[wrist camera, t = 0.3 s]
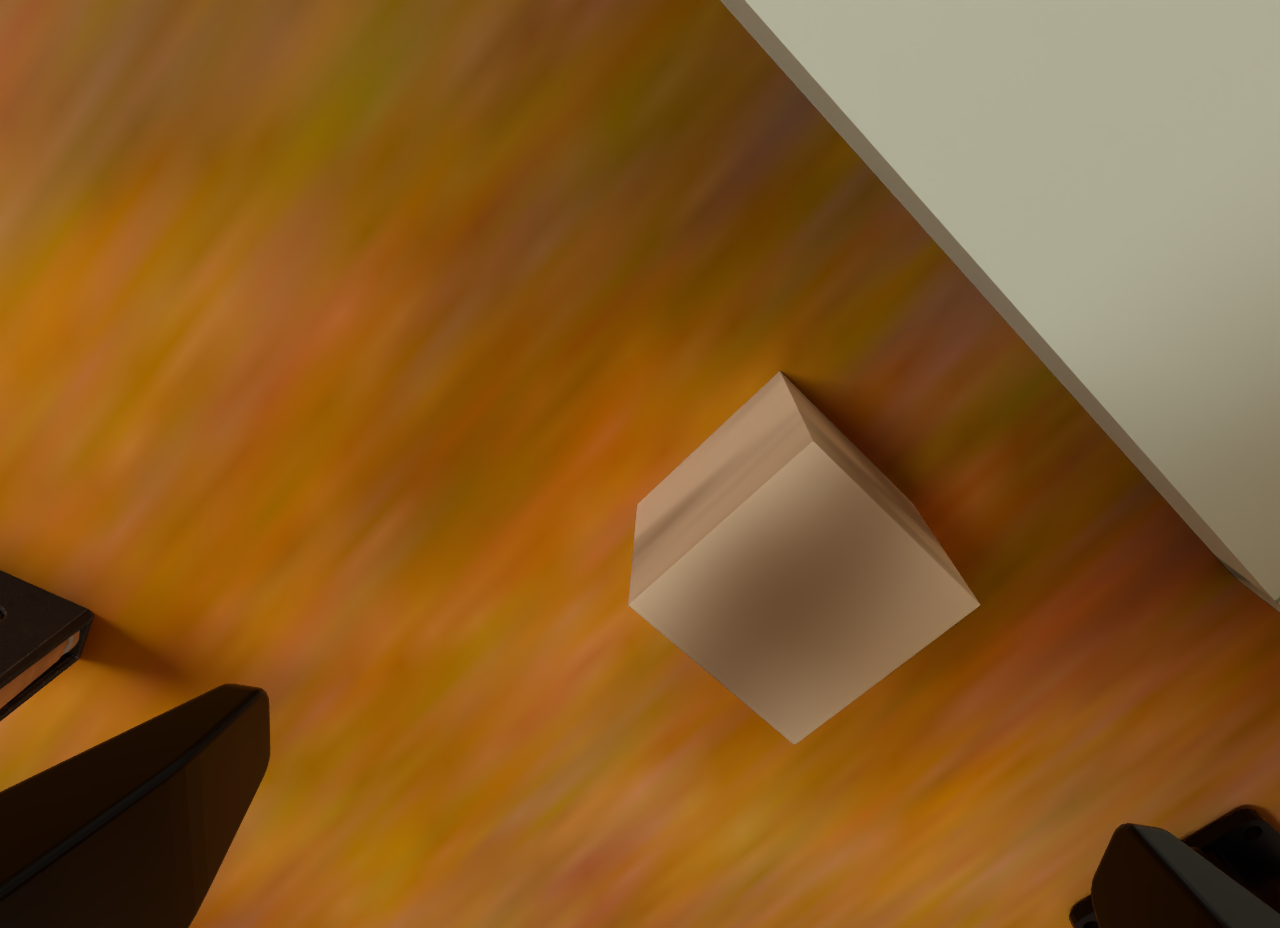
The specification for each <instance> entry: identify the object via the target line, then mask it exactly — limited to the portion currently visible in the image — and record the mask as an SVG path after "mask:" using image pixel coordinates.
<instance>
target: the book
mask: <svg viewBox="0 0 1280 928" xmlns="http://www.w3.org/2000/svg"><path fill="white" fill-rule="evenodd" d="M720 1H721V2H722V3H723V4H724V5H725V6H726V8H727V9H728V10H729V11H730V12H731V13H732V14H733V15H734V16H735V18H736V19H737V20H738V21H739V22H740V23H741V24H742V25H743V27H744V28H745V29H746V30H747V31H748V32H749V33H750V34H751V36H752V37H753V38H754V39H755V40H756V41H757V42H758V43H759V45H760V46H761V47H762V48H763V49H764V50H765V51H766V52H767V54H768V55H769V56H770V57H771V58H772V59H773V60H774V61H775V62H776V64H777V65H778V66H779V67H780V68H781V69H782V70H783V71H784V73H785V74H786V75H787V76H788V77H789V78H790V79H791V80H792V82H793V83H794V84H795V85H796V86H797V87H798V88H799V89H800V91H801V92H802V93H803V94H804V95H805V96H806V97H807V98H808V100H809V101H810V102H811V103H812V104H813V105H814V106H815V107H816V108H817V110H818V111H819V112H820V113H821V114H822V115H823V116H824V117H825V119H826V120H827V121H828V122H829V123H830V124H831V125H832V126H833V128H834V129H835V130H836V131H837V132H838V133H839V134H840V135H841V137H842V138H843V139H844V140H845V141H846V142H847V143H848V144H849V145H850V147H851V148H852V149H853V150H854V151H855V152H856V153H857V154H858V156H859V157H860V158H861V159H862V160H863V161H864V162H865V163H866V165H867V166H868V167H869V168H870V169H871V170H872V171H873V172H874V174H875V175H876V176H877V177H878V178H879V179H880V180H881V181H882V183H883V184H884V185H885V186H886V187H887V188H888V189H889V190H890V191H891V193H892V194H893V195H894V196H895V197H896V198H897V199H898V200H899V202H900V203H901V204H902V205H903V206H904V207H905V208H906V209H907V211H908V212H909V213H910V214H911V215H912V216H913V217H914V218H915V220H916V221H917V222H918V223H919V224H920V225H921V226H922V227H923V229H924V230H925V231H926V232H927V233H928V234H929V235H930V236H931V237H932V239H933V240H934V241H935V242H936V243H937V244H938V245H939V246H940V248H941V249H942V250H943V251H944V252H945V253H946V254H947V255H948V257H949V258H950V259H951V260H952V261H953V262H954V263H955V264H956V266H957V267H958V268H959V269H960V270H961V271H962V272H963V273H964V274H965V276H966V277H967V278H968V279H969V280H970V281H971V282H972V283H973V285H974V286H975V287H976V288H977V289H978V290H979V291H980V292H981V294H982V295H983V296H984V297H985V298H986V299H987V300H988V301H989V303H990V304H991V305H992V306H993V307H994V308H995V309H996V310H997V312H998V313H999V314H1000V315H1001V316H1002V317H1003V318H1004V319H1005V320H1006V322H1007V323H1008V324H1009V325H1010V326H1011V327H1012V328H1013V329H1014V331H1015V332H1016V333H1017V334H1018V335H1019V336H1020V337H1021V338H1022V340H1023V341H1024V342H1025V343H1026V344H1027V345H1028V346H1029V347H1030V349H1031V350H1032V351H1033V352H1034V353H1035V354H1036V355H1037V356H1038V357H1039V359H1040V360H1041V361H1042V362H1043V363H1044V364H1045V365H1046V366H1047V368H1048V369H1049V370H1050V371H1051V372H1052V373H1053V374H1054V375H1055V377H1056V378H1057V379H1058V380H1059V381H1060V382H1061V383H1062V384H1063V386H1064V387H1065V388H1066V389H1067V390H1068V391H1069V392H1070V393H1071V395H1072V396H1073V397H1074V398H1075V399H1076V400H1077V401H1078V402H1079V403H1080V405H1081V406H1082V407H1083V408H1084V409H1085V410H1086V411H1087V412H1088V414H1089V415H1090V416H1091V417H1092V418H1093V419H1094V420H1095V421H1096V423H1097V424H1098V425H1099V426H1100V427H1101V428H1102V429H1103V430H1104V432H1105V433H1106V434H1107V435H1108V436H1109V437H1110V438H1111V439H1112V441H1113V442H1114V443H1115V444H1116V445H1117V446H1118V447H1119V448H1120V449H1121V451H1122V452H1123V453H1124V454H1125V455H1126V456H1127V457H1128V458H1129V460H1130V461H1131V462H1132V463H1133V464H1134V465H1135V466H1136V467H1137V469H1138V470H1139V471H1140V472H1141V473H1142V474H1143V475H1144V476H1145V478H1146V479H1147V480H1148V481H1149V482H1150V483H1151V484H1152V485H1153V486H1154V488H1155V489H1156V490H1157V491H1158V492H1159V493H1160V494H1161V495H1162V497H1163V498H1164V499H1165V500H1166V501H1167V502H1168V503H1169V504H1170V506H1171V507H1172V508H1173V509H1174V510H1175V511H1176V512H1177V513H1178V515H1179V516H1180V517H1181V518H1182V519H1183V520H1184V521H1185V522H1186V524H1187V525H1188V526H1189V527H1190V528H1191V529H1192V530H1193V531H1194V532H1195V534H1196V535H1197V536H1198V537H1199V538H1200V539H1201V540H1202V541H1203V543H1204V544H1205V545H1206V546H1207V547H1208V548H1209V549H1210V550H1211V552H1212V553H1213V554H1214V555H1215V556H1216V557H1217V558H1218V559H1219V561H1220V562H1221V563H1222V564H1223V565H1224V566H1225V567H1226V568H1227V570H1228V571H1229V572H1230V573H1231V574H1232V575H1233V576H1234V577H1235V578H1236V579H1237V580H1238V581H1240V582H1241V583H1242V584H1243V585H1245V586H1246V587H1247V588H1249V589H1250V590H1251V591H1252V592H1254V593H1255V594H1256V595H1258V596H1259V597H1260V598H1261V599H1263V600H1264V601H1265V602H1267V603H1268V604H1269V605H1270V606H1272V607H1273V608H1274V609H1276V610H1277V611H1278V612H1279V613H1280V0H720Z"/></svg>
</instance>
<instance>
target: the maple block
mask: <svg viewBox="0 0 1280 928" xmlns="http://www.w3.org/2000/svg"><path fill="white" fill-rule="evenodd" d="M628 605H629V606H630V607H631V608H632V609H634V610H635V611H636V612H637V613H638V614H639V615H641V616H642V617H643V618H644V619H645V620H647V621H648V622H649V623H650V624H651V625H653V626H654V627H655V628H656V629H657V630H658V631H660V632H661V633H662V634H663V635H664V636H666V637H667V638H668V639H669V640H670V641H671V642H673V643H674V644H675V645H676V646H677V647H679V648H680V649H681V650H682V651H683V652H685V653H686V654H687V655H688V656H689V657H690V658H692V659H693V660H694V661H695V662H696V663H698V664H699V665H700V666H701V667H702V668H703V669H705V670H706V671H707V672H708V673H709V674H711V675H712V676H713V677H714V678H715V679H717V680H718V681H719V682H720V683H721V684H722V685H724V686H725V687H726V688H727V689H728V690H730V691H731V692H732V693H733V694H734V695H735V696H737V697H738V698H739V699H740V700H741V701H743V702H744V703H745V704H746V705H747V706H749V707H750V708H751V709H752V710H753V711H754V712H756V713H757V714H758V715H759V716H760V717H762V718H763V719H764V720H765V721H766V722H768V723H769V724H770V725H771V726H772V727H773V728H775V729H776V730H777V731H778V732H779V733H781V734H782V735H783V736H784V737H785V738H786V739H788V740H789V741H790V742H791V743H792V744H794V745H795V744H797V743H798V742H799V741H801V740H802V739H803V738H805V737H806V736H807V735H809V734H810V733H811V732H813V731H814V730H815V729H817V728H818V727H819V726H821V725H822V724H823V723H825V722H826V721H827V720H829V719H830V718H831V717H833V716H834V715H835V714H836V713H838V712H839V711H840V710H842V709H843V708H844V707H846V706H847V705H848V704H850V703H851V702H852V701H854V700H855V699H856V698H858V697H859V696H860V695H862V694H863V693H864V692H866V691H867V690H868V689H870V688H871V687H872V686H874V685H875V684H876V683H878V682H879V681H880V680H882V679H883V678H884V677H886V676H887V675H888V674H890V673H891V672H892V671H894V670H895V669H896V668H898V667H899V666H900V665H902V664H903V663H904V662H906V661H907V660H908V659H910V658H911V657H912V656H914V655H915V654H916V653H918V652H919V651H920V650H922V649H923V648H924V647H926V646H927V645H928V644H930V643H931V642H932V641H934V640H935V639H936V638H937V637H939V636H940V635H941V634H943V633H944V632H945V631H947V630H948V629H949V628H951V627H952V626H953V625H955V624H956V623H957V622H959V621H960V620H961V619H963V618H964V617H965V616H967V615H968V614H969V613H971V612H972V611H973V610H975V609H976V608H977V607H979V606H980V603H979V602H978V600H977V599H976V597H975V596H974V594H973V593H972V591H971V590H970V588H969V587H968V585H967V584H966V582H965V581H964V579H963V578H962V576H961V575H960V573H959V572H958V570H957V569H956V567H955V566H954V564H953V563H952V561H951V560H950V558H949V557H948V555H947V554H946V552H945V551H944V549H943V548H942V546H941V545H940V543H939V542H938V540H937V539H936V537H935V536H934V534H933V533H932V531H931V530H930V528H929V527H928V525H927V524H926V522H925V521H924V519H923V518H922V516H921V515H920V513H919V512H918V510H917V509H916V507H915V506H914V504H913V503H912V502H911V501H910V500H909V499H908V498H907V497H906V496H905V495H904V494H903V493H902V492H901V491H900V490H899V489H898V488H897V487H896V486H895V485H894V484H893V483H892V482H891V481H890V480H889V479H888V478H887V477H886V476H885V475H884V474H883V473H882V472H881V471H880V470H879V469H878V468H877V467H876V466H875V465H874V464H873V463H872V462H871V461H870V460H869V459H868V458H867V457H866V456H865V455H864V454H863V453H862V452H861V451H860V450H859V449H858V448H857V447H856V446H855V445H854V444H853V443H852V442H851V441H850V440H849V439H848V438H847V437H846V436H845V435H844V434H843V433H842V432H841V431H840V430H839V429H838V428H837V427H836V426H835V425H834V424H833V423H832V422H831V421H830V420H829V419H828V418H827V417H826V416H825V415H824V414H823V413H822V412H821V411H820V410H819V409H818V408H817V407H816V406H815V405H814V404H813V403H812V402H811V401H810V400H809V399H808V398H807V397H806V396H805V395H804V394H803V393H802V392H801V391H800V390H799V389H798V388H797V387H796V386H795V385H794V384H793V383H792V382H791V381H790V380H789V379H788V378H787V377H786V376H785V375H784V374H783V373H782V372H781V371H779V372H778V373H777V374H776V375H775V376H774V377H773V378H772V379H771V380H770V381H769V382H768V383H766V384H765V385H764V386H763V387H762V388H761V389H760V390H759V391H758V392H757V393H756V394H755V395H754V396H753V397H752V398H750V399H749V400H748V401H747V402H746V403H745V404H744V405H743V406H742V407H741V408H740V409H739V410H738V411H737V412H736V413H734V414H733V415H732V416H731V417H730V418H729V419H728V420H727V421H726V422H725V423H724V424H723V425H722V426H721V427H719V428H718V429H717V430H716V431H715V432H714V433H713V434H712V435H711V436H710V437H709V438H708V439H707V440H706V441H705V442H703V443H702V444H701V445H700V446H699V447H698V448H697V449H696V450H695V451H694V452H693V453H692V454H691V455H690V456H689V457H687V458H686V459H685V460H684V461H683V462H682V463H681V464H680V465H679V466H678V467H677V468H676V469H675V470H674V471H673V472H671V473H670V474H669V475H668V476H667V477H666V478H665V479H664V480H663V481H662V482H661V483H660V484H659V485H658V486H657V487H655V488H654V489H653V490H652V491H651V492H650V493H649V494H648V495H647V496H646V497H645V498H644V499H643V500H642V501H641V502H639V503H638V504H637V514H636V525H635V536H634V547H633V558H632V569H631V581H630V592H629V603H628Z"/></svg>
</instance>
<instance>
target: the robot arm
mask: <svg viewBox="0 0 1280 928" xmlns="http://www.w3.org/2000/svg"><path fill="white" fill-rule="evenodd" d="M269 758H270V717H269V698H268V695H267V693H266V692H265V691H264V690H263V689H262V688H258V687H252V686H245V685H239V684H224V685H221V686H219V687H217V688H215V689H212V690H210V691H208V692H206V693H204V694H202V695H200V696H198V697H196V698H194V699H192V700H190V701H188V702H186V703H183V704H181V705H179V706H177V707H175V708H173V709H171V710H169V711H167V712H165V713H163V714H161V715H159V716H157V717H155V718H152V719H150V720H148V721H146V722H144V723H142V724H140V725H138V726H136V727H134V728H132V729H130V730H128V731H126V732H123V733H121V734H119V735H117V736H115V737H113V738H111V739H109V740H107V741H105V742H103V743H101V744H99V745H97V746H94V747H92V748H90V749H88V750H86V751H84V752H82V753H80V754H78V755H76V756H74V757H72V758H70V759H68V760H66V761H63V762H61V763H59V764H57V765H55V766H53V767H51V768H49V769H47V770H45V771H43V772H41V773H39V774H37V775H34V776H32V777H30V778H28V779H26V780H24V781H22V782H20V783H18V784H16V785H14V786H12V787H10V788H8V789H6V790H3V791H1V792H0V928H189V926H190V924H191V923H192V921H193V919H194V917H195V916H196V914H197V912H198V910H199V908H200V906H201V904H202V902H203V900H204V898H205V896H206V894H207V892H208V890H209V888H210V886H211V884H212V882H213V880H214V878H215V876H216V874H217V872H218V870H219V868H220V866H221V864H222V862H223V860H224V857H225V855H226V853H227V851H228V849H229V847H230V845H231V843H232V841H233V839H234V837H235V835H236V833H237V831H238V829H239V827H240V824H241V822H242V820H243V818H244V816H245V814H246V812H247V810H248V808H249V806H250V804H251V802H252V800H253V798H254V796H255V794H256V791H257V789H258V787H259V785H260V783H261V781H262V779H263V777H264V775H265V772H266V769H267V766H268V763H269ZM1091 897H1092V898H1090V899H1089V900H1087V901H1085V902H1084V903H1082V904H1080V905H1079V906H1077V907H1075V908H1074V909H1073V910H1072V911H1071V913H1070V915H1069V920H1070V922H1071V924H1072V926H1073V928H1280V833H1279V832H1278V831H1277V830H1276V829H1275V828H1274V827H1273V826H1272V825H1271V824H1270V823H1269V822H1268V821H1267V820H1266V819H1265V818H1264V817H1263V816H1262V815H1261V814H1260V813H1259V812H1257V811H1256V810H1252V809H1244V810H1240V811H1238V812H1235V813H1233V814H1232V815H1230V816H1228V817H1227V818H1225V819H1223V820H1222V821H1220V822H1218V823H1217V824H1215V825H1213V826H1211V827H1210V828H1208V829H1206V830H1205V831H1203V832H1201V833H1200V834H1198V835H1196V836H1195V837H1193V838H1191V839H1190V840H1188V841H1186V842H1185V843H1183V842H1182V841H1180V840H1179V839H1178V838H1176V837H1175V836H1174V835H1172V834H1171V833H1169V832H1168V831H1166V830H1164V829H1161V828H1157V827H1151V826H1144V825H1138V824H1132V823H1127V824H1122V825H1120V826H1119V827H1118V828H1117V829H1116V830H1115V832H1114V833H1113V835H1112V838H1111V840H1110V842H1109V844H1108V846H1107V849H1106V851H1105V853H1104V855H1103V857H1102V860H1101V862H1100V864H1099V866H1098V868H1097V871H1096V873H1095V875H1094V878H1093V881H1092V887H1091Z"/></svg>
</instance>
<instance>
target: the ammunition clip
mask: <svg viewBox="0 0 1280 928" xmlns="http://www.w3.org/2000/svg"><path fill="white" fill-rule="evenodd" d="M92 619H93V614H92V613H91V611H90V610H88V609H86V608H84V607H82V606H80V605H77V604H75V603H73V602H70V601H68V600H66V599H64V598H61V597H59V596H57V595H55V594H52V593H50V592H48V591H46V590H43V589H41V588H39V587H37V586H34V585H32V584H30V583H27V582H25V581H23V580H21V579H18V578H16V577H14V576H12V575H9V574H7V573H5V572H3V571H0V721H1V720H3V719H4V718H5V717H6V716H8V715H9V714H10V713H11V712H13V711H14V710H15V709H16V708H18V707H19V706H20V705H22V704H23V703H24V702H25V701H27V700H28V699H29V698H30V697H32V696H33V695H34V694H35V693H37V692H38V691H39V690H40V689H42V688H43V687H44V686H46V685H47V684H48V683H49V682H51V681H52V680H53V679H54V678H56V677H57V676H58V675H59V674H61V673H62V672H63V671H64V670H66V669H67V668H68V667H70V666H71V665H72V664H73V663H75V662H76V661H77V660H78V659H79V658H80V655H81V652H82V649H83V646H84V643H85V640H86V637H87V634H88V631H89V628H90V625H91V622H92Z"/></svg>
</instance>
